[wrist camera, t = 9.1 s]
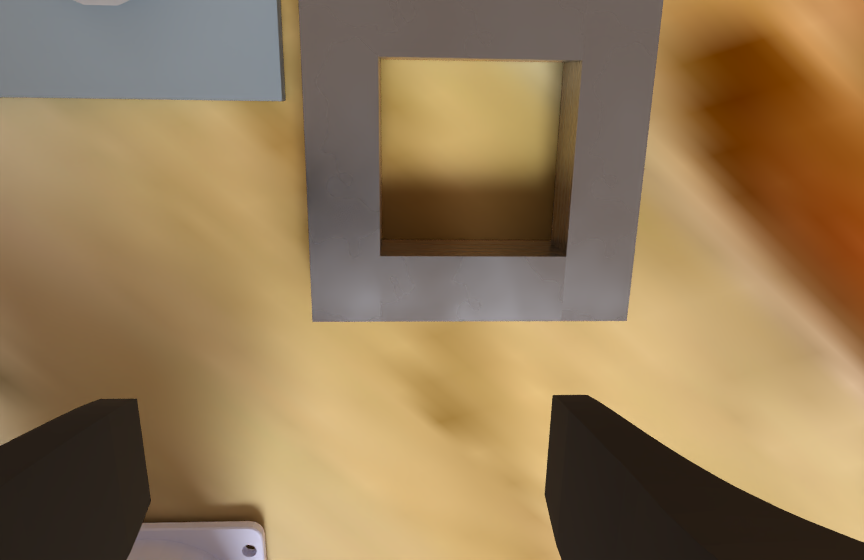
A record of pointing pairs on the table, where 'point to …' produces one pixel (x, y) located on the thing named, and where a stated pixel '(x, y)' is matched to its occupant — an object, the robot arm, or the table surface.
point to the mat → (142, 50)
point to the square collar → (575, 169)
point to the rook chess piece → (101, 2)
